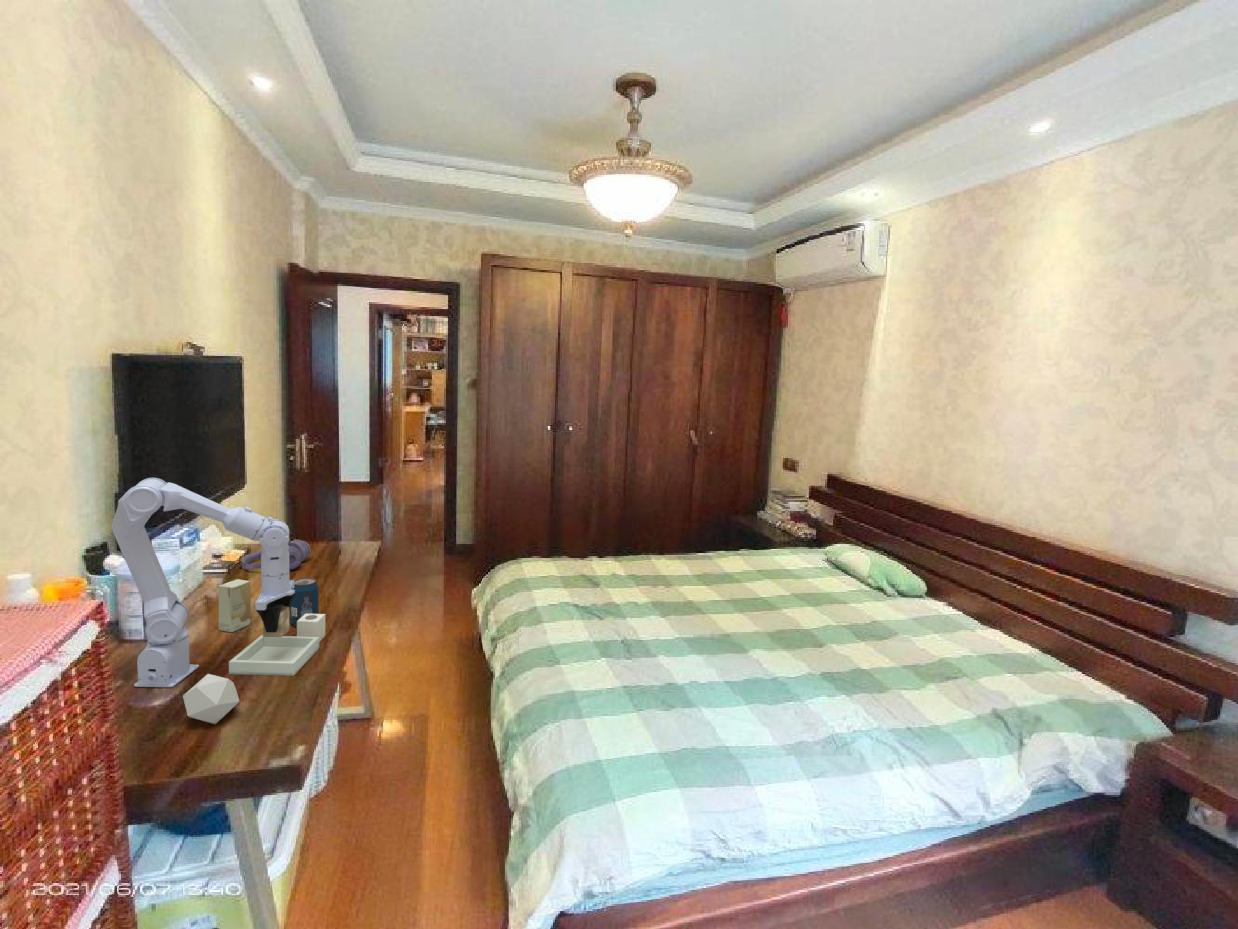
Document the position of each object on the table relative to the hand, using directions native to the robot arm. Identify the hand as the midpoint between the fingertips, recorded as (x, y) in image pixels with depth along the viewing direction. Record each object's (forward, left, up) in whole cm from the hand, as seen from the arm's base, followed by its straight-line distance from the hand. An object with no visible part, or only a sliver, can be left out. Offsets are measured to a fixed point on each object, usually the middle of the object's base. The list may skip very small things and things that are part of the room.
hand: (276, 627), depth 140 cm
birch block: (0, 0, -1) cm, 1 cm away
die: (-24, +1, -8) cm, 25 cm away
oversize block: (+12, -3, -8) cm, 15 cm away
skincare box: (+18, +19, -8) cm, 28 cm away
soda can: (+22, +3, -8) cm, 24 cm away
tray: (0, 0, -8) cm, 8 cm away
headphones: (+69, +33, -9) cm, 77 cm away
